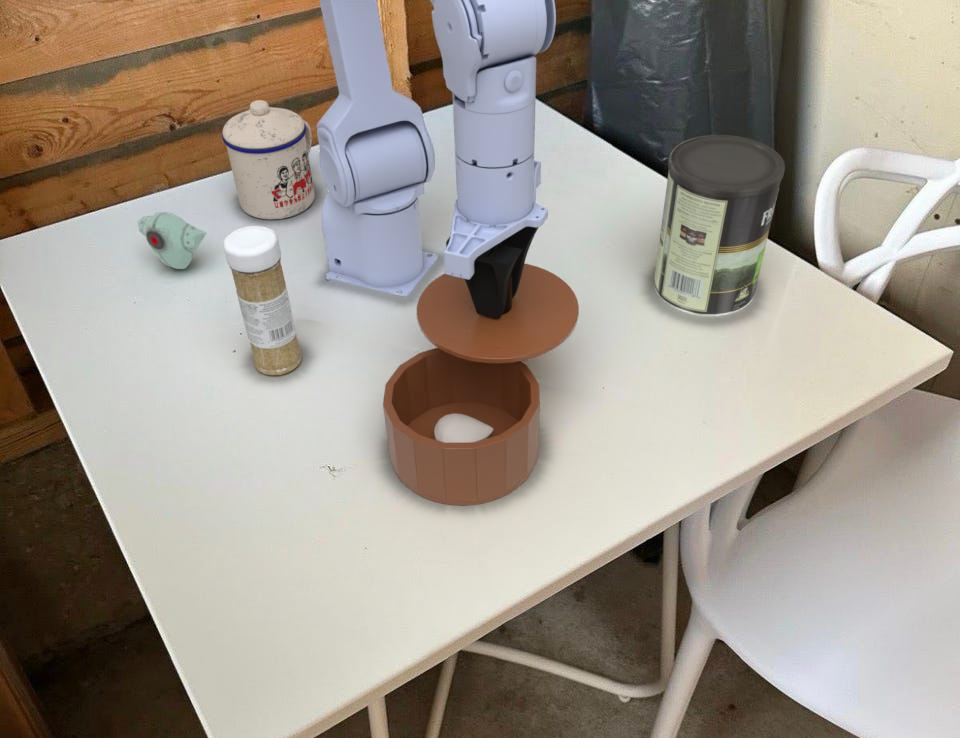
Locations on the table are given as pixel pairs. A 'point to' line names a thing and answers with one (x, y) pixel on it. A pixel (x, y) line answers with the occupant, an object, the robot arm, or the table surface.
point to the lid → (516, 334)
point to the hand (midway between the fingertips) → (496, 303)
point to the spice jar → (263, 298)
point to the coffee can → (716, 223)
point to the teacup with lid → (270, 161)
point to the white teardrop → (461, 429)
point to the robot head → (171, 238)
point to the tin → (469, 391)
